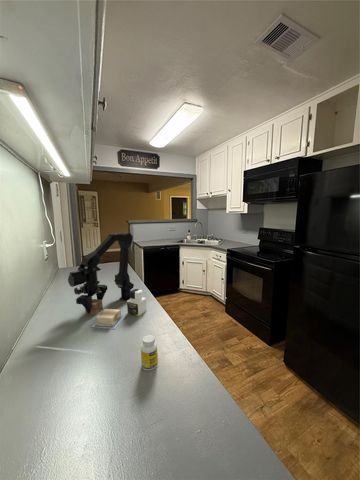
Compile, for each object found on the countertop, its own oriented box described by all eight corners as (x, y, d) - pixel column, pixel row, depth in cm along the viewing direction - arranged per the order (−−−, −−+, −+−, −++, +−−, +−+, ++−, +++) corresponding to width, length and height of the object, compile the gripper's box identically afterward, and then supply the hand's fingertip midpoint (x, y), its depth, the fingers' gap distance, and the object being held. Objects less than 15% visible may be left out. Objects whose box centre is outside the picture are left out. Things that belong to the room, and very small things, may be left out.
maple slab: (106, 316, 100) (105, 308, 99) (121, 317, 98) (120, 309, 98) (96, 325, 92) (96, 317, 91) (112, 326, 91) (112, 318, 90)
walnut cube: (92, 309, 109) (91, 298, 108) (103, 310, 108) (102, 299, 107) (85, 315, 103) (84, 304, 102) (96, 315, 102) (95, 304, 101)
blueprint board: (104, 315, 102) (104, 313, 102) (126, 316, 100) (126, 315, 100) (90, 328, 91) (90, 327, 90) (114, 330, 88) (114, 329, 88)
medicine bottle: (127, 314, 102) (125, 291, 101) (136, 308, 109) (135, 286, 107) (138, 317, 99) (136, 294, 97) (147, 310, 105) (145, 288, 104)
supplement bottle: (150, 373, 64) (149, 345, 63) (138, 367, 67) (136, 340, 66) (161, 362, 69) (159, 336, 67) (149, 357, 71) (147, 331, 70)
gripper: (88, 274, 114) (91, 300, 116) (64, 286, 95) (68, 317, 98) (106, 275, 112) (109, 301, 114) (85, 287, 93) (88, 318, 96)
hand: (94, 309), depth 105 cm, fingers open, 9 cm apart
